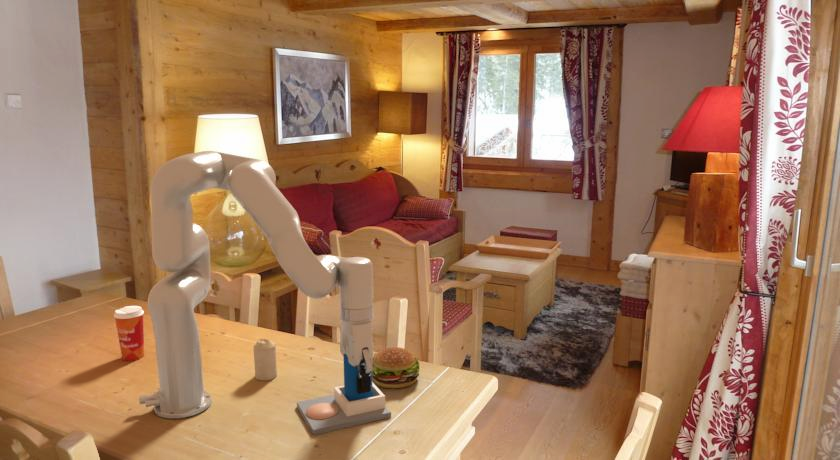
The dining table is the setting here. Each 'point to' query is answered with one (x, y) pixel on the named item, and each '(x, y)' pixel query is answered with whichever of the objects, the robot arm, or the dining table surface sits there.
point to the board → (342, 410)
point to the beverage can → (353, 381)
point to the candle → (265, 360)
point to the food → (394, 368)
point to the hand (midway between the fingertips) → (358, 385)
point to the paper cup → (130, 332)
